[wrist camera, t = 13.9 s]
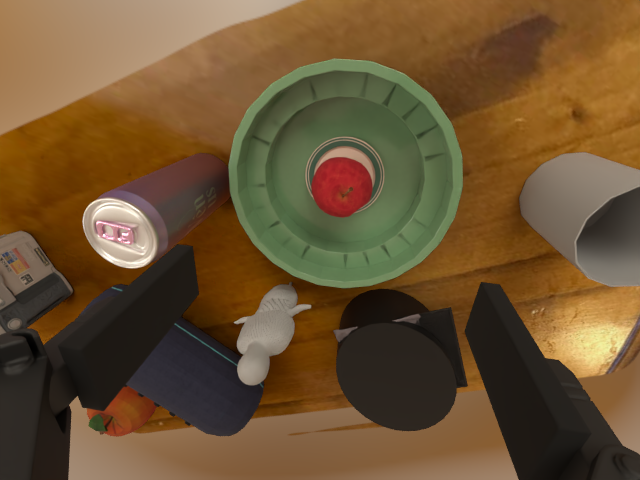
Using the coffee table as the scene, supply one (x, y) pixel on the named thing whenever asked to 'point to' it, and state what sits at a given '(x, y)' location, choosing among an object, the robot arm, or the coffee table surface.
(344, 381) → the tape dispenser
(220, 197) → the beverage can
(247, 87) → the coffee table surface
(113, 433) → the fruit
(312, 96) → the bowl
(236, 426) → the portable speaker
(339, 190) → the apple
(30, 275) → the camera
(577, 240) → the cup
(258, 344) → the figurine
